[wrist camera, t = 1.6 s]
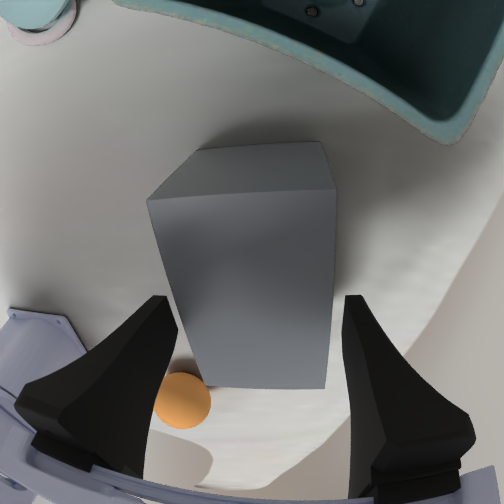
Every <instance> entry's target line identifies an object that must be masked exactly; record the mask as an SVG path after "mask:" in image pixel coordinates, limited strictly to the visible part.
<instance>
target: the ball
mask: <svg viewBox="0 0 504 504" xmlns="http://www.w3.org/2000/svg"><path fill="white" fill-rule="evenodd" d="M210 407H211V397H210V393H209V391H208V389H207V387H206V386H205V384H204V383H203V382H202V381H201V380H200V379H199V378H197V377H195V376H193V375H191V374H188V373H183V372H178V373H172V374H169V375H167V376H165V377H164V378H163V381H162V383H161V386H160V388H159V391H158V394H157V397H156V400H155V404H154V411H155V413H156V414H157V416H158V417H159V418H160V419H161V420H162V421H163V422H164V423H165V424H167V425H169V426H171V427H173V428H178V429H188V428H192V427H195V426H197V425H199V424H200V423H201V422H202V421H203V420H204V419H205V418H206V417H207V415H208V413H209V411H210Z"/></svg>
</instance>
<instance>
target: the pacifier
mask: <svg viewBox="0 0 504 504" xmlns="http://www.w3.org/2000/svg"><path fill="white" fill-rule="evenodd" d="M61 12H62V14H61V17H60V18H59V20H58V22H57V23H56V24H55V25H54V26H53V27H51V28H50V29H48V30H47V31H44V32H41V33H34V32H31V31H28V30H27V29H36V28H41V27H44V26H47V25H48V24H50V23H51V22H53V21H54V20H55V19H56V18H57V17H58V16H59V14H60V13H61ZM75 15H76V1H75V0H0V16H1V17H2V18H3V19H5V20H6V21H7V26H8V29H9V32H10V33H11V35H12V36H13V37H14V38H15V39H16V40H18V41H19V42H21V43H24V44H26V45H32V46H40V45H46V44H48V43H51V42H54V41H55V40H57V39H58V38H60V37H61V36H63V35H64V34H65V33H66V32H67V30H68V29H69V28H70V27H71V25H72V23H73V21H74V19H75Z"/></svg>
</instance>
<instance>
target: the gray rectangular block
mask: <svg viewBox="0 0 504 504" xmlns="http://www.w3.org/2000/svg"><path fill="white" fill-rule="evenodd" d="M146 203H147V207H148V211H149V215H150V219H151V222H152V226H153V230H154V233H155V237H156V241H157V244H158V248H159V251H160V254H161V258H162V261H163V265H164V268H165V271H166V275H167V278H168V281H169V284H170V287H171V291H172V294H173V297H174V300H175V303H176V306H177V309H178V312H179V315H180V318H181V321H182V324H183V327H184V330H185V333H186V335H187V338H188V341H189V344H190V347H191V349H192V352H193V355H194V358H195V360H196V363H197V366H198V368H199V371H200V374H201V376H202V379H203V382H204V384H205V386H217V387H232V388H252V389H325V382H326V373H327V364H328V354H329V343H330V332H331V320H332V306H333V291H334V272H335V249H336V205H337V189H336V186H335V183H334V180H333V177H332V174H331V171H330V168H329V165H328V162H327V159H326V156H325V153H324V150H323V147H322V144H321V142H294V143H274V144H258V145H245V146H233V147H222V148H212V149H203V150H196V151H195V152H194V153H193V154H192V155H191V156H190V157H189V158H188V159H187V160H186V161H185V162H184V163H183V164H182V165H181V166H180V167H179V168H178V169H177V170H176V171H174V172H173V173H172V174H171V175H170V176H169V177H168V178H167V179H166V180H165V181H164V182H163V183H162V184H161V185H160V186H159V188H158V189H157V190H156V191H155V192H154V193H153V194H152V195H151V196H150V197H149V198H148V199H147V200H146Z"/></svg>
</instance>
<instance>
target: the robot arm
mask: <svg viewBox="0 0 504 504" xmlns="http://www.w3.org/2000/svg"><path fill="white" fill-rule="evenodd" d="M6 312H7V315H8V316H9V320H8V321H7V322H6V323H5V325H4V326H3V327H2V329H1V330H0V472H1V473H2V474H4V475H5V476H7V477H8V478H5V477H3V476H1V475H0V504H32V502H33V501H34V500H35V498H36V496H37V494H38V495H39V496H41V497H43V498H45V499H47V500H48V501H51V502H52V503H54V504H146V503H144V502H143V501H142V500H141V499H139V498H136V497H134V496H137V497H140V498H144V499H148V500H151V501H156V502H160V503H163V504H500V497H499V490H498V484H497V479H496V473H495V468H494V466H492V465H491V466H488V467H485V468H482V469H479V470H476V471H472V472H469V473H466V474H464V475H461V476H460V477H459V471H458V469H460V468H461V461H460V458H461V457H462V456H463V455H464V454H465V453H466V452H467V451H468V450H469V449H470V448H471V447H472V446H473V445H474V443H475V441H476V435H475V431H474V428H473V424H472V422H471V420H470V417H469V415H468V414H467V413H466V412H464V411H463V410H461V409H460V408H459V407H457V406H456V405H454V404H452V403H451V402H450V401H448V400H447V399H446V398H444V397H443V396H442V395H441V394H440V393H438V392H437V391H436V390H435V389H434V388H433V387H432V386H431V385H429V384H428V383H427V382H426V381H425V380H424V379H423V378H422V377H421V376H420V375H419V374H418V373H417V372H416V371H415V370H414V369H413V368H412V367H411V366H410V364H408V362H407V361H406V360H405V359H404V358H403V356H402V355H401V354H400V353H399V351H398V350H397V349H396V347H395V346H394V345H393V344H392V342H391V341H390V339H389V338H388V337H387V335H386V334H385V332H384V331H383V329H382V328H381V326H380V325H379V323H378V322H377V320H376V319H375V317H374V315H373V314H372V312H371V310H370V309H369V307H368V305H367V303H366V302H365V300H364V298H363V296H362V295H345V304H344V314H343V323H342V332H341V333H342V353H343V361H344V367H345V374H346V380H347V387H348V394H349V401H350V411H351V457H350V480H349V493H348V499H343V500H319V501H289V500H266V499H252V498H240V497H232V496H223V495H217V494H210V493H203V492H197V491H192V490H186V489H181V488H176V487H171V486H167V485H162V484H158V483H154V482H150V481H146V480H143V469H144V460H145V451H146V444H147V436H148V431H149V427H150V422H151V417H152V413H153V408H154V404H155V400H156V397H157V394H158V391H159V388H160V386H161V383H162V381H163V378H164V375H165V373H166V370H167V367H168V365H169V362H170V359H171V357H172V354H173V351H174V347H175V343H176V339H177V334H178V328H177V325H176V322H175V319H174V316H173V314H172V311H171V308H170V305H169V302H168V299H167V296H159V295H153V296H152V297H151V298H150V299H149V300H148V301H146V302H145V303H144V304H143V305H142V306H141V307H140V308H139V309H138V310H137V311H136V312H135V313H134V314H133V315H131V316H130V317H129V318H128V319H127V320H126V321H125V322H124V323H123V324H122V325H121V326H120V327H118V328H117V329H116V330H115V331H114V332H113V333H111V334H110V335H109V336H108V337H107V338H106V339H104V340H103V341H102V342H101V343H99V344H98V345H97V346H95V347H94V348H93V349H91V350H90V351H89V352H86V350H85V348H84V347H83V345H82V343H81V342H80V340H79V339H78V337H77V335H76V333H75V332H74V330H73V328H72V327H71V325H70V323H69V321H68V320H67V318H65V317H64V316H58V315H50V314H43V313H36V312H29V311H22V310H15V309H7V311H6ZM126 493H127V494H126ZM129 494H130V495H129ZM131 495H134V496H131Z"/></svg>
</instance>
